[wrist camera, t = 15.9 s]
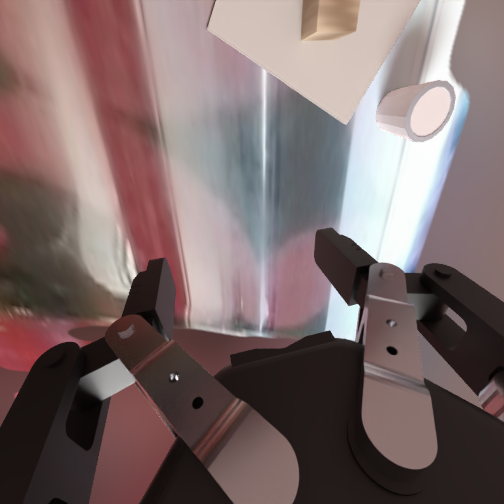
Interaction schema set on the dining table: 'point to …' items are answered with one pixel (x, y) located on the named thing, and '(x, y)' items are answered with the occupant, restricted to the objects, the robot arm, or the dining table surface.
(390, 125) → the beige tapered cup
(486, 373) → the robot arm
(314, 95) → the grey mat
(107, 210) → the dining table surface
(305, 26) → the birch block
